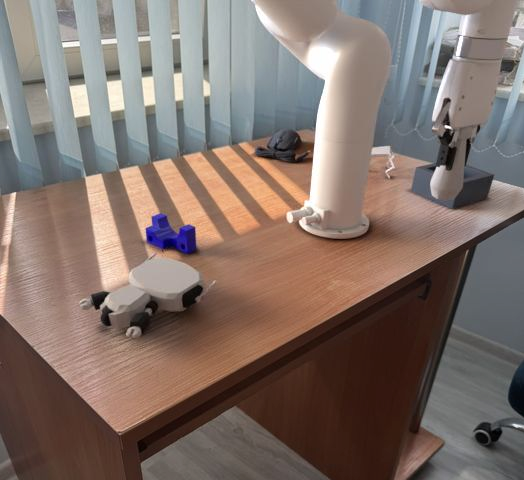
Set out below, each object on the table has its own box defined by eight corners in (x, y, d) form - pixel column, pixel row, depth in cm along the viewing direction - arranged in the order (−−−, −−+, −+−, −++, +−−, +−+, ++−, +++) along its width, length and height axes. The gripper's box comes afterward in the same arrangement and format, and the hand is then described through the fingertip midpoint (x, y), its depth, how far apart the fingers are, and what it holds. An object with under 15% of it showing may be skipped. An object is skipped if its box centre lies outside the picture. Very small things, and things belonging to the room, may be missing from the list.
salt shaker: (456, 191, 99) (475, 119, 91) (462, 203, 94) (483, 127, 86) (425, 189, 99) (441, 117, 91) (429, 201, 95) (447, 126, 87)
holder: (452, 209, 102) (458, 183, 99) (410, 191, 109) (415, 167, 106) (487, 198, 107) (494, 174, 104) (445, 182, 114) (451, 159, 111)
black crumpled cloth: (327, 147, 132) (328, 130, 130) (296, 165, 120) (297, 147, 117) (284, 139, 137) (285, 123, 134) (250, 156, 124) (250, 138, 122)
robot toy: (138, 359, 63) (222, 302, 72) (131, 330, 60) (220, 274, 69) (77, 321, 69) (162, 272, 78) (69, 292, 66) (157, 246, 75)
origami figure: (389, 183, 112) (393, 160, 109) (352, 176, 115) (355, 153, 112) (404, 168, 121) (408, 146, 118) (369, 161, 124) (373, 140, 121)
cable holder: (147, 242, 86) (144, 219, 84) (162, 235, 88) (160, 213, 86) (180, 257, 82) (179, 233, 80) (196, 249, 85) (195, 226, 82)
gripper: (491, 43, 88) (463, 154, 99) (425, 49, 81) (403, 168, 92) (531, 50, 83) (496, 165, 95) (464, 56, 76) (435, 181, 87)
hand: (450, 165), depth 93 cm, fingers closed on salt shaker, 3 cm apart
